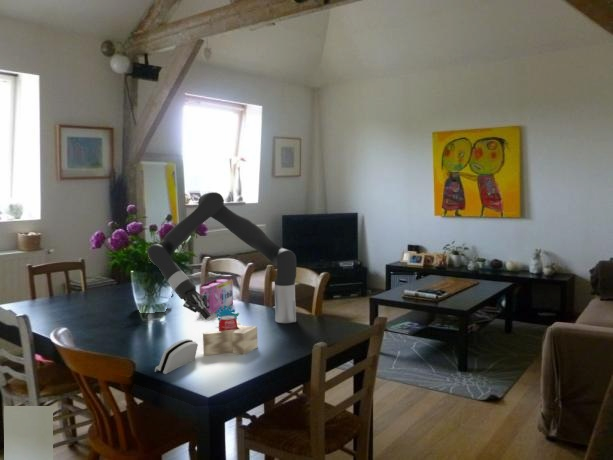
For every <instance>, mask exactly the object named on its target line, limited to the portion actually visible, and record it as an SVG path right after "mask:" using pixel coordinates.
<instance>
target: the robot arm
mask: <svg viewBox="0 0 613 460" xmlns="http://www.w3.org/2000/svg"><path fill="white" fill-rule="evenodd" d="M224 203H225V200H224V197H223V196H222V194H220V193H219V192H217V191H211V192H207V193H204V194H202V195H201V196H200V197H199V199H198V206H197V207H196V208H195V209H194V210H193V211H192V212H191V213H190V214H188V216H186V217H185V218H183V219H182V220H181V221H179V222H178V223H177V224H176V225H175V226H174V227H172V229H170V230H169V231H168V232H167V233H166V234H165V235H164V237H163V241H162V242H161V243H160V244H159V243H154V244H151V245H150V246H149V247H148V249H147V253H148V257H149V259H150V261H151V262H152V263H153V264H154V265H156V266H157V267H158V268H159V270H160V271H161V273H162V275H163V276H164V278H165V279H166V280H167V281H168V283H169V284H170V285H169V286H170V287H171V288H172V290H173V291H174V292H175V293H176V295H177V296H178V298H179V299H181V300H183V301H184V304H183V305H182V306H183V307H184V308H186V309H188V310H190V311H192V312H193V313H198V314H199V313H200V315H201V316H202V317H203V318H204V319H205V320H208V319H209V318H210V317H211V313H209V312H208V311H207V309H206V306H207V299H206V296H205V295H203V296H201V295H200V292H198V291H197V286H196V285H195V284H194V283H193V281H192V280H191V279H190V278H189V276H188V275H187V274H186V273H185V272H184V271H183V270H182V269H181V268H180V266H178V264H177V263H176V262H175V261H174V260H173V258H172V255H173V254H174V252H175V251H176V250H177V249H178V247H180V246H181V245H182V244H183V243H184V242H185V241H186V240H187V239H188V238H189V237H190V236H191V235H192V234H193V233H194V232H195V231H196V230H197V229H198V228H199V227H201V225H202V224H203V223H205V222H206V221H207V220H208V219H210V218H212V219H214V220H215V221H216V222H219V223H220V224H221V225H223V226H224V228H226V229H227V230H229V232H230V233H232V234H233V235H234V236H235V237H236V238H238V239H240V240H241V241H242V242H244V243H245V244H247V245H248V246H249V247H250V248H252V249H254V250H256V251H257V252H259V253H261V254H262V255H263V256H264V257H265V258H266V259H268V260H269V261H270V262H271V263H272V264H273V265H274V266H275V267H276V277H275V278H274V311H275V312H274V313H275V316H274V317H275V320H274V321H275V322H276V323H279V324H292V323H296V322H297V312H296V311H297V306H296V305H297V303H296V279H297V256H296V254H295V253H294V252H293V251H292V250H290V249H287V248H284V247H282V246H281V245H279V244H277V243H275V242H274V241H273V240H272V239H270V237H268V235H267V234H266V233H265V232H264V230H262V229H261V228H260V227H259V226H258V225H257V224H256V223H254V222H253V221H252V220H250V219H248V218H246V217H245V216H243V215H241V214H239V213H236V212H234V211H233V210H231V209H230V208H228V207H227V206H226V205H225V204H224ZM151 262H150V263H151Z"/></svg>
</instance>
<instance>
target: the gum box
mask: <svg viewBox="0 0 613 460" xmlns="http://www.w3.org/2000/svg"><path fill="white" fill-rule="evenodd" d="M233 288H234V285H233V278H229V277H228V278H227V277H226V278H225V277H219V278H216V279H212V280H211V281H208V282H206V283H203V284H200V285H199V294H200V295H201V296H203V295H205V296H206V299H207V306H206V309H207V311H208V312H209V313H210V314H214V313H217V312H216V311H217V310H218V309H219V307H222V310H224V308H223V307H224V305H225V306H227V307H229V306H231V305H233V304H234V292H233V291H234V289H233ZM219 311H221V310H220V309H219Z"/></svg>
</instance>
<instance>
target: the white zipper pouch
mask: <svg viewBox="0 0 613 460" xmlns="http://www.w3.org/2000/svg"><path fill="white" fill-rule="evenodd" d="M198 345H199V344H198V343H197V342H196V341H193V340H192V339H189V338H187V339H181V340H178V341H177V342H174V343H173V344H171V345H170V346H169V347H167V348H166V349H165V350H164V352H163V354H162V356H161V359H160V362H159V363H158V364H159V365H157V366H155V368H154V372H155V373H156V372H158V371H159V372H161V371H162V373H163V374H165V375H166V374H167V375H168V373H170V372H173V371H175V370H177V369H178V368H181V367H182V366H185V365H186V364H188V363H190V362H192V361H194V360H196V355H197V351H198Z"/></svg>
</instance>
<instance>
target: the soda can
mask: <svg viewBox="0 0 613 460" xmlns="http://www.w3.org/2000/svg"><path fill="white" fill-rule="evenodd" d="M219 318H220V321H219V320H218V331H225V330H234V329H237V321H238V320H237V321H236V319H235V316H232V315H226V316H222V317H219Z"/></svg>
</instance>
